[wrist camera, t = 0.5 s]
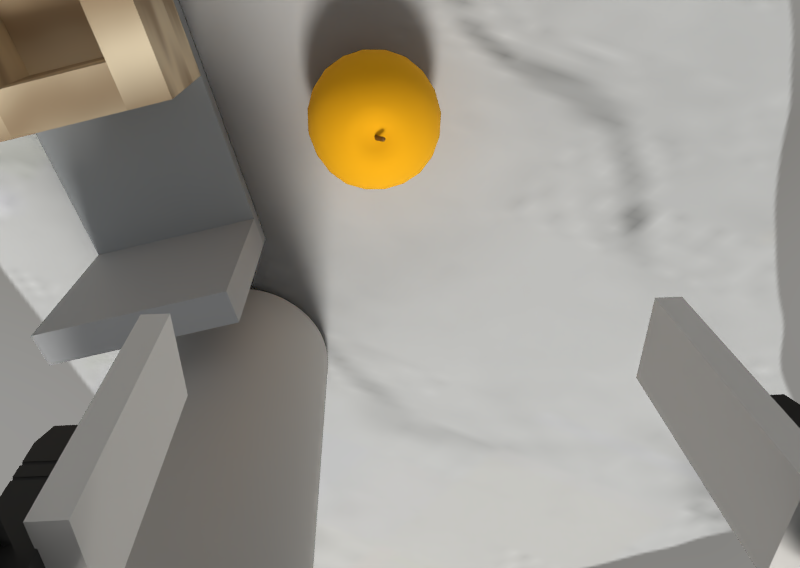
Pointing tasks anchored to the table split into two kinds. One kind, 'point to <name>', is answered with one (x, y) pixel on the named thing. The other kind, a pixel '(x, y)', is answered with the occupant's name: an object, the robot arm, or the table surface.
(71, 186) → the grey corner bracket
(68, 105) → the block
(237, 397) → the cylinder vase
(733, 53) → the table surface
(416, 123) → the orange
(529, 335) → the table surface
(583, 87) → the table surface
